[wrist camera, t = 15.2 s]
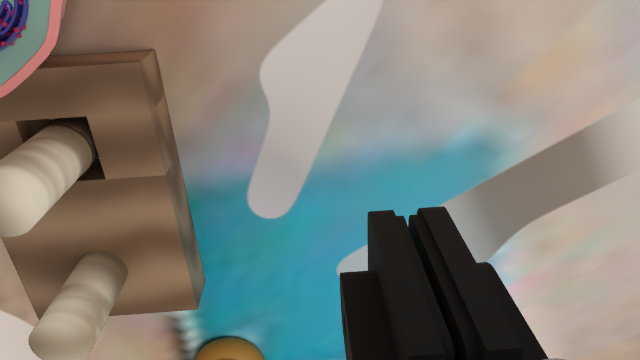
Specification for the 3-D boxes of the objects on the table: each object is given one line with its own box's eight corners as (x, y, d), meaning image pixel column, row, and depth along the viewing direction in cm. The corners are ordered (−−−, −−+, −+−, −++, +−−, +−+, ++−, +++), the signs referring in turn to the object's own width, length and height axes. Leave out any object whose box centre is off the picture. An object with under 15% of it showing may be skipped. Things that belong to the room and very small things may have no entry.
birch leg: (104, 105, 36) (23, 173, 25) (117, 153, 38) (47, 235, 27) (51, 109, 36) (-52, 178, 25) (67, 156, 38) (-23, 239, 27)
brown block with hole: (205, 280, 44) (176, 386, 34) (60, 290, 44) (-15, 401, 34) (155, 49, 34) (91, 98, 24) (-35, 61, 34) (-185, 116, 23)
